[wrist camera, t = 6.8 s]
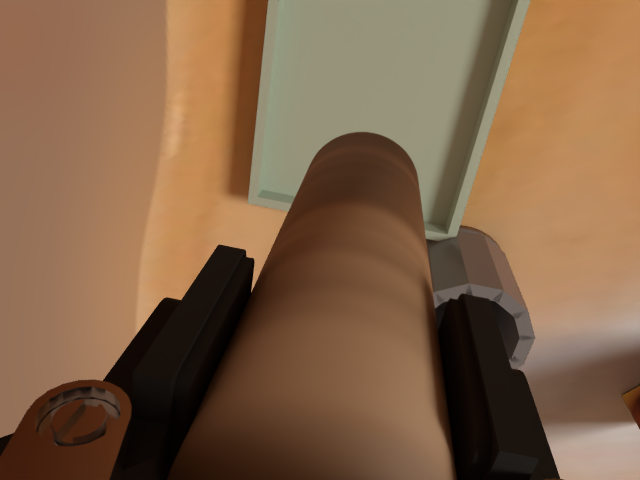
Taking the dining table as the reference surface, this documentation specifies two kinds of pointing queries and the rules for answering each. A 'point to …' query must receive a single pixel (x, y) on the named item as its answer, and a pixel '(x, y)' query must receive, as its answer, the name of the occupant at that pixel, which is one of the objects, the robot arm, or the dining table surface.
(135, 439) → the robot arm
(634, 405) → the candy box
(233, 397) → the dowel
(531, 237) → the dining table surface
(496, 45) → the rectangular frame
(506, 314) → the cup
